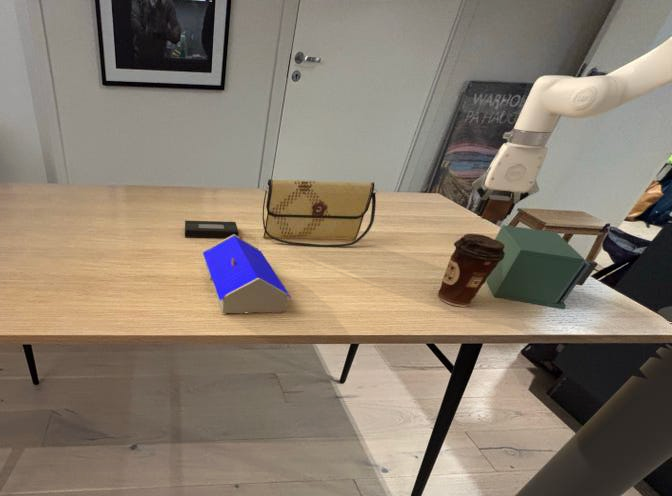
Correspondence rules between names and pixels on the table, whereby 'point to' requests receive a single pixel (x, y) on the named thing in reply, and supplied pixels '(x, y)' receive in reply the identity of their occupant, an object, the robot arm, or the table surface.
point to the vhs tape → (210, 229)
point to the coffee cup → (469, 268)
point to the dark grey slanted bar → (579, 277)
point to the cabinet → (534, 266)
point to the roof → (244, 278)
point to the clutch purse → (317, 210)
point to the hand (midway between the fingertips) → (490, 215)
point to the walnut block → (496, 207)
